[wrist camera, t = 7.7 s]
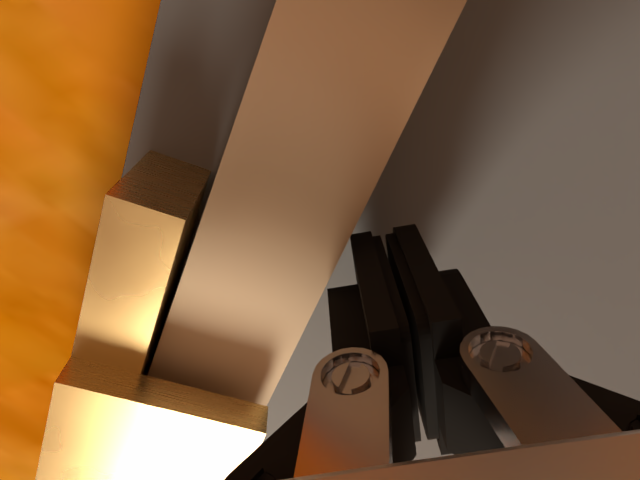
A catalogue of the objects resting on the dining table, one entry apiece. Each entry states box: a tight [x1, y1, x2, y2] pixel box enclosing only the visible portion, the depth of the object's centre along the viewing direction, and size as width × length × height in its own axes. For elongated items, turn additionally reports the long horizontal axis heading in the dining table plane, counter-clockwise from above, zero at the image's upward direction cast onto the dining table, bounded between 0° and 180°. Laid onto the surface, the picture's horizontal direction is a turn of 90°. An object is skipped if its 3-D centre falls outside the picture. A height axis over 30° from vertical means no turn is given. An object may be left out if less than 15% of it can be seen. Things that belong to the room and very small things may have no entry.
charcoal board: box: [122, 0, 640, 461], centre depth 14 cm, size 25×21×1 cm
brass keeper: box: [35, 150, 268, 480], centre depth 12 cm, size 10×4×4 cm, turn 159°
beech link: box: [146, 0, 467, 406], centre depth 10 cm, size 18×4×2 cm, turn 157°
